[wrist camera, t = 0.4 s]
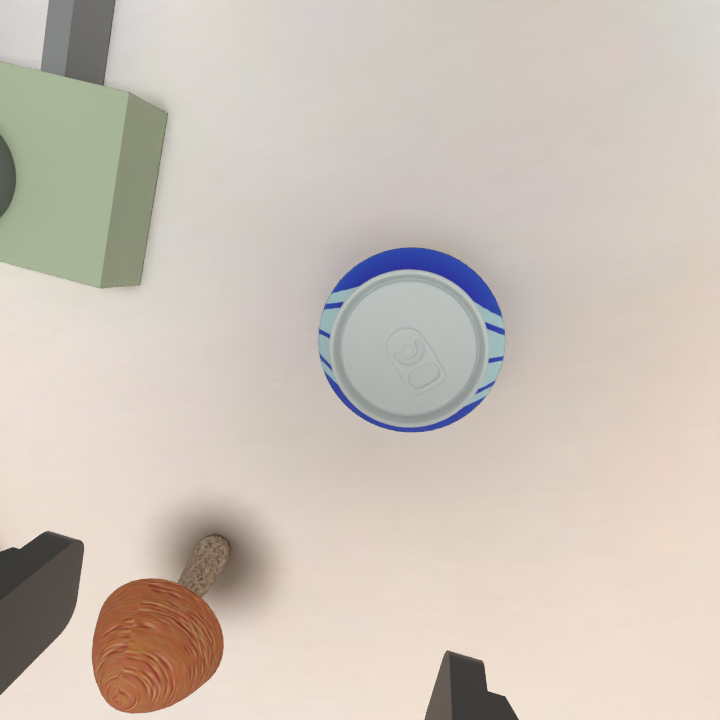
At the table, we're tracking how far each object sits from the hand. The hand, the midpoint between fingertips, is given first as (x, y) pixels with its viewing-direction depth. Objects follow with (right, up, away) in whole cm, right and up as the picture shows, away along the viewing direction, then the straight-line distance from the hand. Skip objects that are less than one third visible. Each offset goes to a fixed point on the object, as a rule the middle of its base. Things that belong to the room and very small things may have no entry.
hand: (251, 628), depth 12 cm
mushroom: (-9, -9, +32) cm, 34 cm away
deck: (-21, +23, +28) cm, 42 cm away
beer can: (+6, +9, +27) cm, 29 cm away
